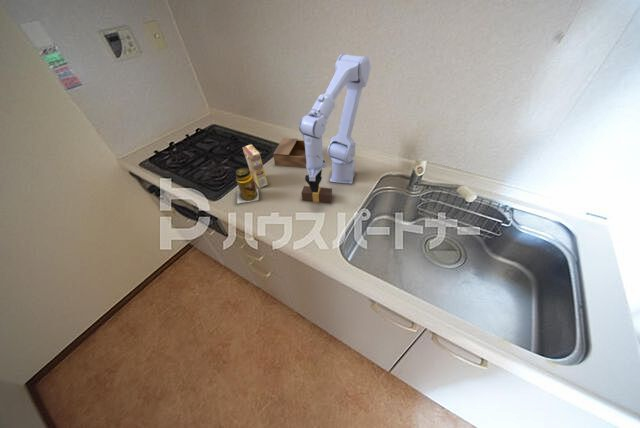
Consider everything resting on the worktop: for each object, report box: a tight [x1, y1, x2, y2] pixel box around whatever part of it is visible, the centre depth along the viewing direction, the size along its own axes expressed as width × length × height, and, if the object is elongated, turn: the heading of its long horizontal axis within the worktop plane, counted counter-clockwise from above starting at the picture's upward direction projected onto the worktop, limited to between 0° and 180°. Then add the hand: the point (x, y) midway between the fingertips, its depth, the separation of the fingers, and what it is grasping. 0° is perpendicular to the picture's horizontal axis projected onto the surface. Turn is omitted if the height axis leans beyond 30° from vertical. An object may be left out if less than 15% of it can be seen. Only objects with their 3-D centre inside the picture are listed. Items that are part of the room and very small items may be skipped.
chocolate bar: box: [301, 185, 333, 204], centre depth 91 cm, size 4×11×4 cm, turn 78°
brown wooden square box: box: [272, 137, 307, 169], centre depth 113 cm, size 15×15×6 cm
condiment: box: [234, 167, 260, 204], centre depth 91 cm, size 7×8×12 cm
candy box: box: [242, 143, 269, 189], centre depth 97 cm, size 9×4×15 cm, turn 33°
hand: (316, 185), depth 88 cm, fingers open, 7 cm apart
